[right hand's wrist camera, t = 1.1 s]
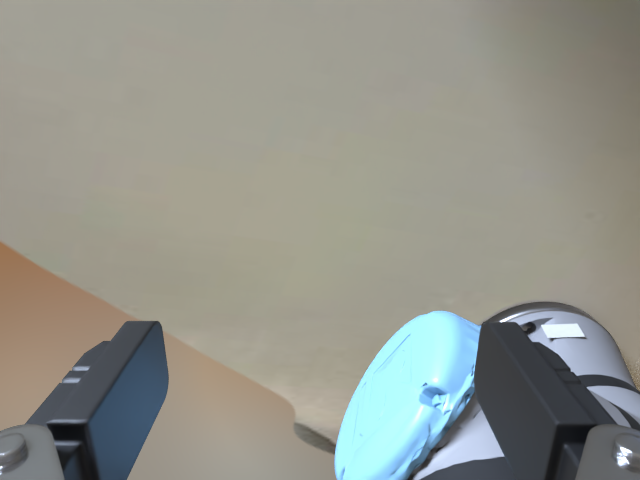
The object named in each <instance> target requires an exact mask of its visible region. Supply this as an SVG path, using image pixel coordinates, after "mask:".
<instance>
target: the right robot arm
mask: <svg viewBox="0 0 640 480" xmlns="http://www.w3.org/2000/svg"><path fill="white" fill-rule="evenodd" d="M168 380H169V377H168V367H167V360H166V353H165V345H164V338H163V331H162V326H161V324H160V322H158V321H127V322H125V323H124V325H123V326H122V327H121V328H120V330H119V331H118V332H117V333H116V335H115V336H114V337H113V339H112V340H111V341H103V342H101V343H100V344H98V345H97V346H95V347H94V348H92V349H91V350H89V351H87V352H86V353H84V355H83V356H82V357H81V358H80V359H79V361H78V362H77V363H76V364H75V365H74V367H73V368H72V371H69V372H68V374H67V375H66V376H65V377H64V378H63V380H62V383H59V384H58V385H57V387H56V388H55V389H54V390H53V391H52V393H51V394H50V395H49V396H48V397H47V398H46V400H45V401H44V402H43V403H42V404H41V406H40V407H39V408H38V409H37V410H36V412H35V413H34V414H33V415H32V416H31V417H30V419H29V420H28V421H27V422H26V423H25V424H24V425H18V426H14V427H10V428H7V429H4V430H2V431H0V480H127V478H128V476H129V474H130V472H131V469H132V467H133V465H134V463H135V461H136V459H137V457H138V455H139V453H140V451H141V448H142V446H143V444H144V442H145V440H146V438H147V436H148V434H149V432H150V430H151V427H152V425H153V423H154V421H155V419H156V417H157V415H158V413H159V411H160V409H161V407H162V404H163V402H164V400H165V398H166V394H167V389H168ZM474 389H475V394H476V397H477V400H478V402H479V405H480V407H481V409H482V411H483V413H484V415H485V417H486V419H487V421H488V423H489V425H490V427H491V429H492V431H493V434H494V436H495V438H496V440H497V442H498V444H499V446H500V448H501V450H502V452H503V454H504V456H505V458H506V460H507V463H508V465H509V467H510V469H511V471H512V473H513V475H514V477H515V479H516V480H640V431H638V430H636V429H633V428H630V427H626V426H622V425H618V424H617V423H616V421H615V420H614V419H613V418H612V417H611V416H610V414H609V413H608V412H607V411H606V410H605V409H604V407H603V406H602V405H601V404H600V403H599V401H598V400H597V399H596V398H595V397H594V396H593V394H592V393H591V392H590V391H589V390H588V389H587V387H586V386H585V385H584V384H581V380H580V379H579V378H578V377H577V376H576V374H575V373H574V372H571V369H570V367H569V366H568V365H567V364H566V363H565V362H564V360H563V359H562V358H561V357H560V356H559V354H557V353H556V352H554V351H552V350H551V349H549V348H548V347H546V346H545V345H543V344H542V343H540V342H532V341H531V340H530V338H529V337H528V336H527V335H526V333H525V332H524V331H523V330H522V328H521V327H520V326H519V325H518V323H516V322H484V323H483V324H482V326H481V329H480V334H479V342H478V349H477V356H476V363H475V370H474Z"/></svg>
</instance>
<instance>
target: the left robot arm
mask: <svg viewBox="0 0 640 480" xmlns="http://www.w3.org/2000/svg"><path fill="white" fill-rule="evenodd" d="M486 322H516V323H518V325H519V326H520V327H521V328H522V330H523V331H524V332H525V333H526V335H527V336H528V337H529V338H530V340H531V341H532V342H540V343H542V344H543V345H545V346H546V347H548V348H549V349H551V350H552V351H554V352H556V353H557V354H559V356H560V357H561V358H562V359H563V360H564V362H565V363H566V364H567V365H568V366H569V367H570V369H571V372H574V373H575V374H576V376H577V377H578V378H579V379H580V380H581V384H584V385H585V386H586V387H587V389H588V390H589V391H590V392H591V393H592V394H593V396H594V397H595V398H596V399H597V400H598V401H599V403H600V404H601V405H602V406H603V407H604V409H605V410H606V411H607V412H608V413H609V414H610V416H611V417H612V418H613V419H614V420H615V421H616V423H617V424H618V425H622V426H626V427H630V428H633V429H636V430H638V431H640V392H639V391H638V390H637V388H636V386H635V384H634V382H633V379H632V377H631V375H630V373H629V370H628V368H627V366H626V364H625V362H624V359H623V357H622V355H621V353H620V350H619V348H618V346H617V344H616V342H615V341H614V339H613V338H612V336H611V335H610V333H609V332H608V331H607V330H606V329H605V328H604V327H603V326H601V325H600V324H599V323H598V322H597V321H596V320H595V319H593V318H592V317H591V316H590V315H588V314H587V313H585V312H584V311H582V310H580V309H578V308H575V307H572V306H570V305H566V304H561V303H555V302H535V303H528V304H523V305H519V306H516V307H513V308H510V309H507V310H505V311H503V312H501V313H499V314H497V315H495V316H494V317H492V318H491V319H489V320H488V321H486ZM481 326H482V325H481ZM481 326H478V325H476V324H474V323H472V322H470V321H468V320H466V319H464V318H462V317H460V316H458V315H456V314H453V313H451V312H446V311H434V312H430V313H429V314H424V315H420V316H418V317H416V318H414V319H413V320H411V321H410V322H408V323H407V324H406V325H404V326H403V327H402V328H401V329H400V330H399V331H398V332H397V333H395V334H394V335H393V336H392V338H391V339H390V340H389V341H388V342H387V343H386V344H385V346H384V347H383V348H382V349H381V350H380V352H379V353H378V355H377V356H376V357H375V359H374V360H373V362H372V363H371V365H370V366H369V368H368V369H367V371H366V372H365V374H364V376H363V378H362V379H361V381H360V383H359V385H358V387H357V389H356V391H355V393H354V395H353V397H352V399H351V401H350V403H349V406H348V408H347V411H346V413H345V416H344V419H343V422H342V425H341V428H340V432H339V436H338V441H337V445H336V451H335V473H336V477H337V480H516V479H515V477H514V475H513V473H512V471H511V469H510V467H509V465H508V463H507V460H506V458H505V456H504V454H503V452H502V450H501V448H500V446H499V444H498V442H497V440H496V438H495V436H494V434H493V431H492V429H491V427H490V425H489V423H488V421H487V419H486V417H485V415H484V413H483V411H482V409H481V407H480V405H479V402H478V400H477V397H476V394H475V389H474V370H475V363H476V356H477V349H478V342H479V334H480V329H481Z"/></svg>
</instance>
